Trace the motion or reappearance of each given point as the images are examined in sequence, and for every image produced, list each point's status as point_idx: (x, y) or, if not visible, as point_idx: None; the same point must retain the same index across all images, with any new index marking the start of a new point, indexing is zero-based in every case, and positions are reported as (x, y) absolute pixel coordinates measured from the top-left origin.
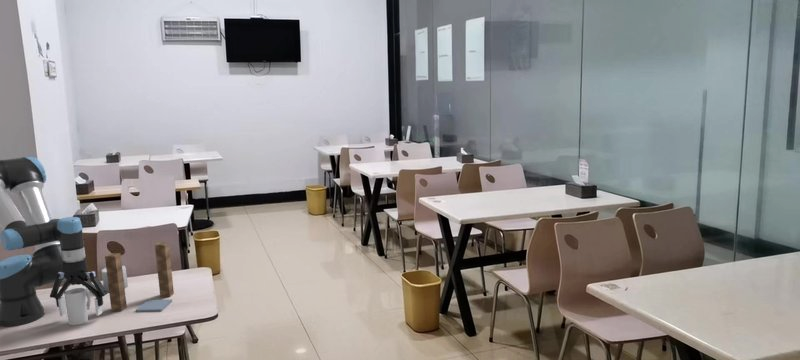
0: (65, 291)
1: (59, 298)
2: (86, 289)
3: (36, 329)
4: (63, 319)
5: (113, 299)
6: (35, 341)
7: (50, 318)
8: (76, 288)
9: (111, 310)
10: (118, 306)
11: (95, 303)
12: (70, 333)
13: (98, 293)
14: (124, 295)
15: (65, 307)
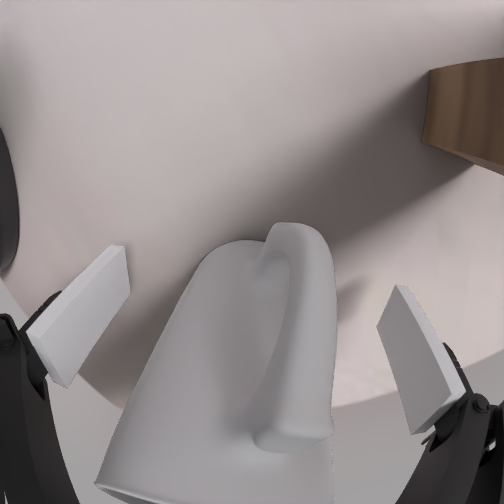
0: (103, 490)
1: (43, 366)
2: (319, 439)
3: None
4: (124, 228)
5: (501, 168)
6: None
7: (53, 202)
8: (155, 499)
9: (424, 141)
10: (483, 166)
11: (404, 398)
12: None
13: (463, 431)
14: None
15: (99, 273)
